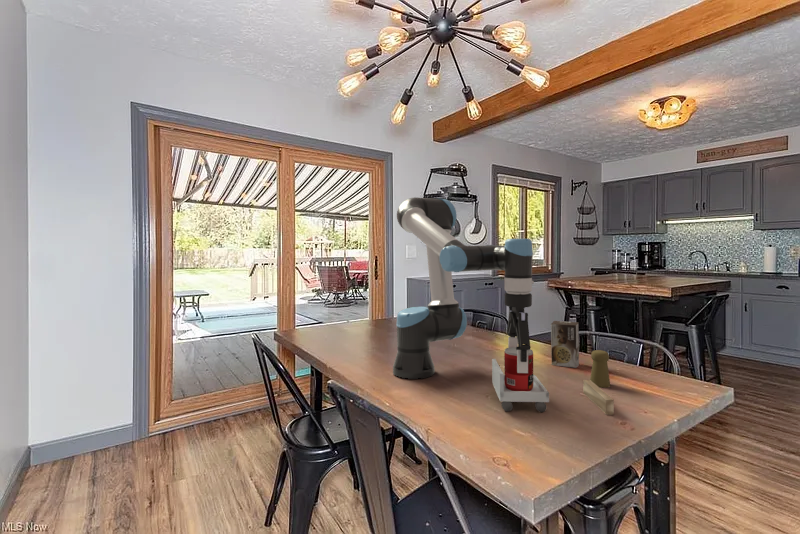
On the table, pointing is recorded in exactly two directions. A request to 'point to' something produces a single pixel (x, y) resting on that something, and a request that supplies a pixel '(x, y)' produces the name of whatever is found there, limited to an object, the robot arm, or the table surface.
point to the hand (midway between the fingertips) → (517, 365)
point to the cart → (508, 396)
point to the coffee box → (565, 343)
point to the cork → (600, 369)
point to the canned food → (512, 377)
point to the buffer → (598, 397)
